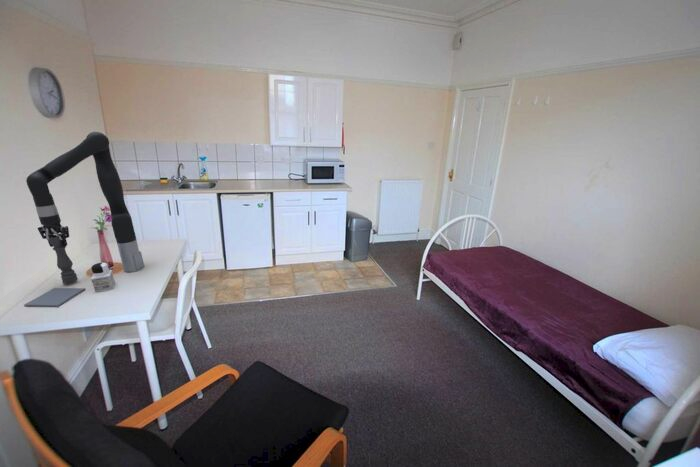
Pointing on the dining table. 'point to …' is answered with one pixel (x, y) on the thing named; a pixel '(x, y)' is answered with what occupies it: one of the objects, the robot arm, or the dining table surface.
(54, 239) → the candle holder
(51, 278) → the dining table surface
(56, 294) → the mat
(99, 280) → the container
